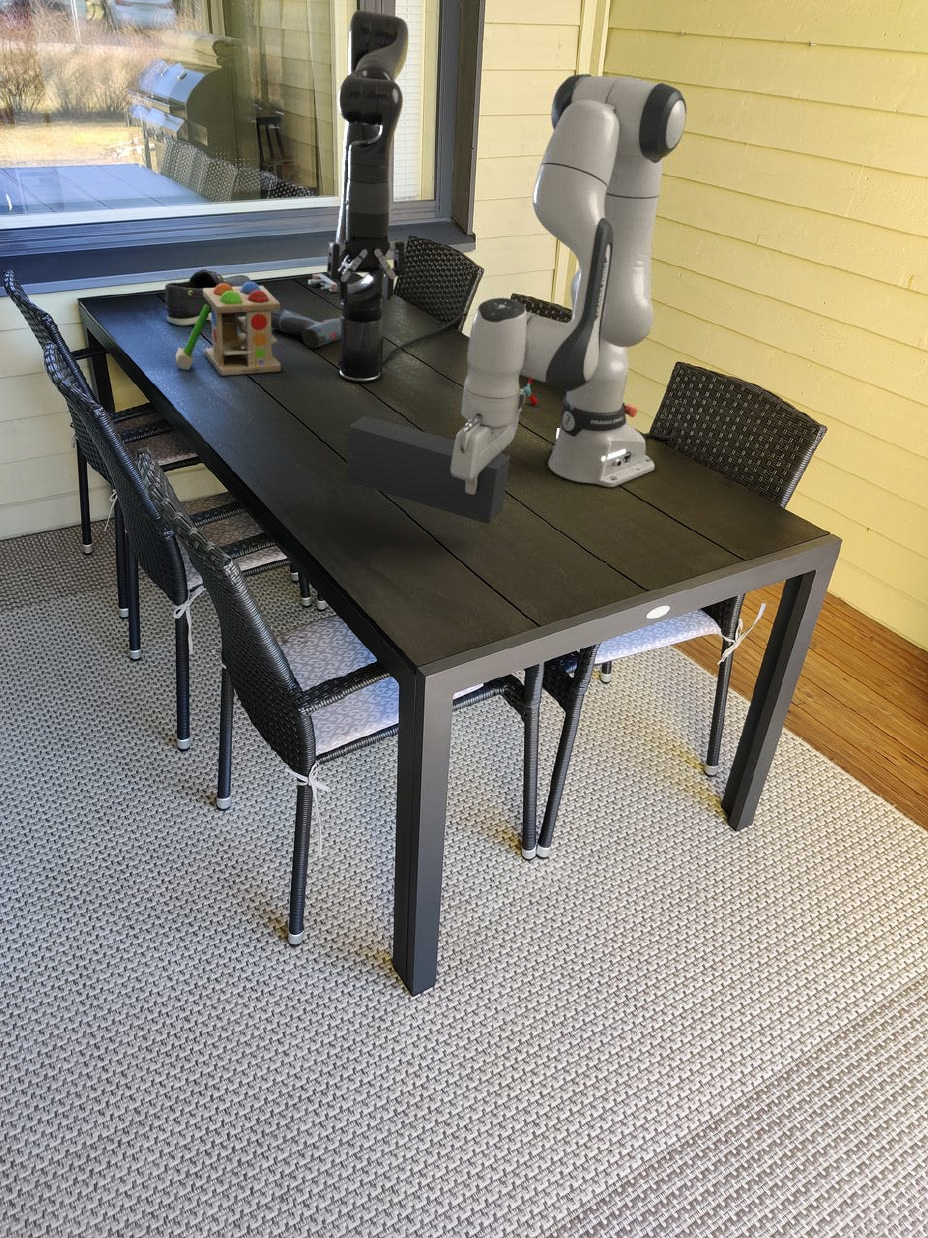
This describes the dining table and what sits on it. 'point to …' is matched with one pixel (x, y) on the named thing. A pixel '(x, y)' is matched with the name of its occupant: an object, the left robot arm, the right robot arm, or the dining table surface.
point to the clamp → (324, 282)
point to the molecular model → (528, 391)
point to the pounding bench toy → (229, 347)
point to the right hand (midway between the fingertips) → (479, 483)
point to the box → (421, 469)
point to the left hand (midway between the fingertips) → (365, 299)
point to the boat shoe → (194, 295)
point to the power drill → (307, 327)
